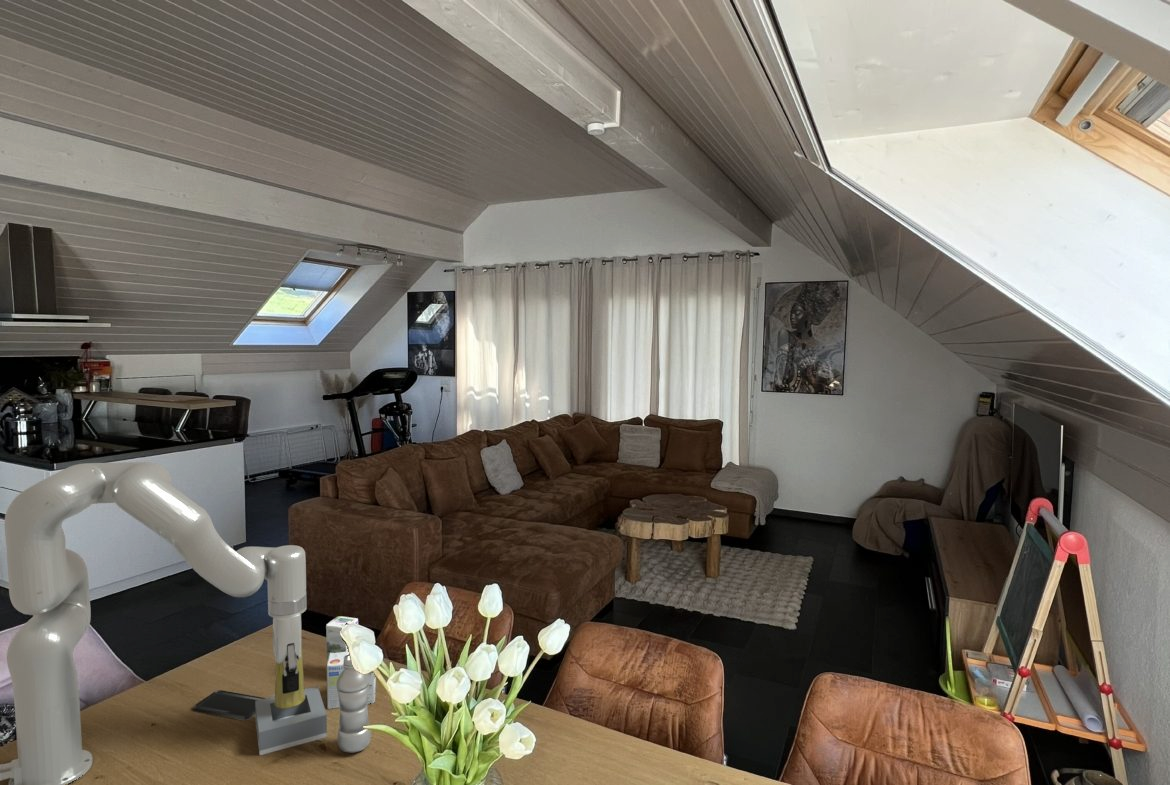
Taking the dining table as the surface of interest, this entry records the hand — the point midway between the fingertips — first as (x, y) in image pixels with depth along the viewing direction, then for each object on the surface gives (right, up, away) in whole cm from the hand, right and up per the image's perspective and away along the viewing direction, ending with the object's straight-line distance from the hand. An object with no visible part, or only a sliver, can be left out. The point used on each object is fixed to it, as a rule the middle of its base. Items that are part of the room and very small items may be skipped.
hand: (289, 683), depth 141 cm
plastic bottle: (+16, -12, -5) cm, 20 cm away
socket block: (0, -11, +1) cm, 11 cm away
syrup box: (+3, -9, +23) cm, 25 cm away
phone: (-18, -10, +9) cm, 22 cm away
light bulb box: (+9, -10, +13) cm, 19 cm away
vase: (0, -4, 0) cm, 4 cm away
